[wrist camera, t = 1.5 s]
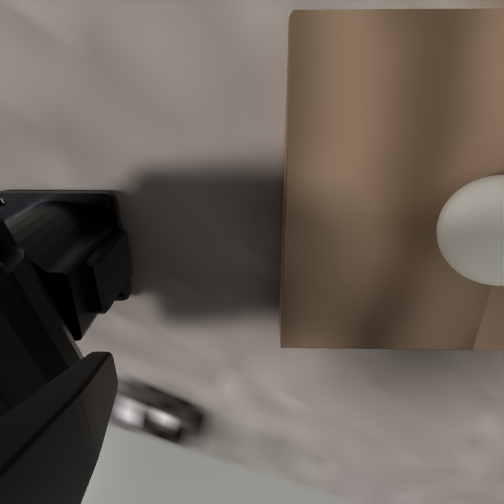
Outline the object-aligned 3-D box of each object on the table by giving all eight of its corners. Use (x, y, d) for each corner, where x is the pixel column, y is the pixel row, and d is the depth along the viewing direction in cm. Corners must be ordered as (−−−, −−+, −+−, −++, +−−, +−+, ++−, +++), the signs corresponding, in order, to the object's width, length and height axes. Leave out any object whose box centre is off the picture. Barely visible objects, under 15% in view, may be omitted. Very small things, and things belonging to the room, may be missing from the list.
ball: (412, 255, 19) (454, 307, 15) (430, 163, 17) (484, 193, 13) (506, 256, 19) (573, 308, 15) (535, 163, 17) (622, 193, 13)
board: (279, 320, 24) (280, 347, 22) (289, 17, 17) (293, 10, 15) (577, 324, 23) (611, 351, 21) (713, 14, 16) (785, 6, 14)
